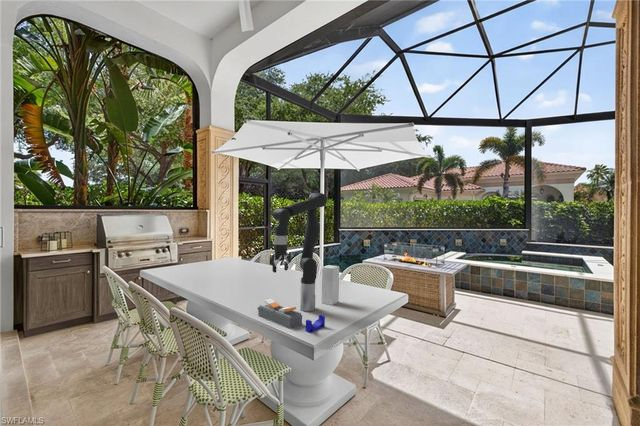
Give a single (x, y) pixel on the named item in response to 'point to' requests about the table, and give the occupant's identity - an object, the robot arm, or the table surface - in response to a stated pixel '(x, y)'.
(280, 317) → the box
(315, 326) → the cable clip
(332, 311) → the table surface
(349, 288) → the table surface
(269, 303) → the rocker
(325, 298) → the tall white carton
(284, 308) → the block
